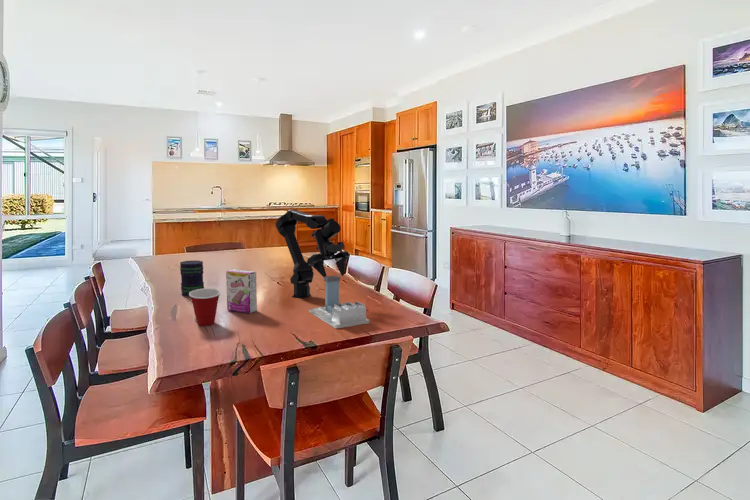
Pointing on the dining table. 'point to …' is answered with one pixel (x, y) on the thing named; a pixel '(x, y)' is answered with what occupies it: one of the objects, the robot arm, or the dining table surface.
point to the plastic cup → (205, 305)
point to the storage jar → (191, 276)
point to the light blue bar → (331, 291)
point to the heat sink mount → (342, 314)
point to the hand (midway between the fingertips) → (334, 276)
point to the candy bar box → (241, 291)
